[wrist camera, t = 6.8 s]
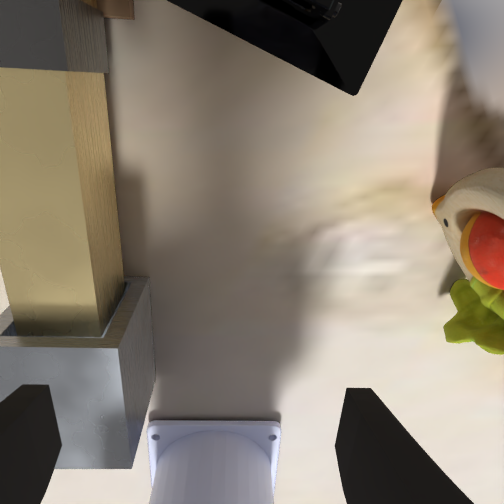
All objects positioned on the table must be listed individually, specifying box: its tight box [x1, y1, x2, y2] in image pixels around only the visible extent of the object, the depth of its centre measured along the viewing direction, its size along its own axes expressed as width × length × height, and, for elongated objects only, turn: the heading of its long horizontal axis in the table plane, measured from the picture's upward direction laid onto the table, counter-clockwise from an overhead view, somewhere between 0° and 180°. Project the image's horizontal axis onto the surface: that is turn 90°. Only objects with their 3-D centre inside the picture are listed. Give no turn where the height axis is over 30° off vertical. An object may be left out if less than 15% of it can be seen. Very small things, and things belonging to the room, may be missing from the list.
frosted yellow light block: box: [0, 0, 125, 337], centre depth 14 cm, size 14×4×4 cm, turn 177°
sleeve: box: [0, 276, 156, 469], centre depth 18 cm, size 6×5×6 cm
